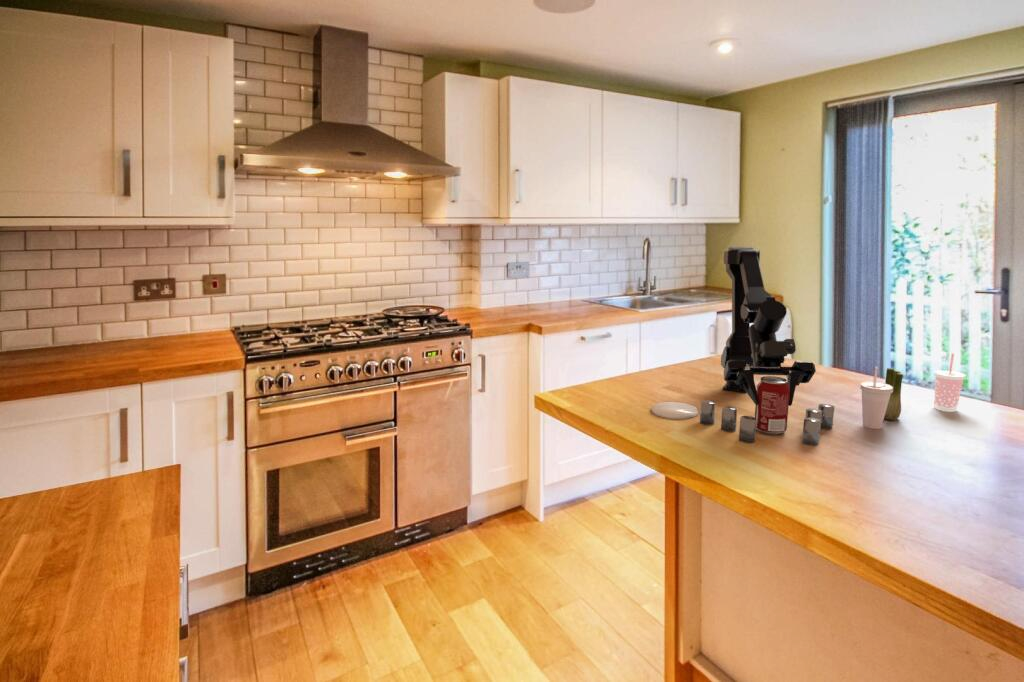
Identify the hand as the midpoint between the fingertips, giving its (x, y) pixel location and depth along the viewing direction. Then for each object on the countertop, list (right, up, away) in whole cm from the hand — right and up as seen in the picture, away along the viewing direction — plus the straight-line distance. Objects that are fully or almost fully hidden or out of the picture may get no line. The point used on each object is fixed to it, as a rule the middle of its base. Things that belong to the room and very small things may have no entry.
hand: (773, 404), depth 134 cm
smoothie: (+24, -6, +5) cm, 26 cm away
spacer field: (0, -6, +2) cm, 7 cm away
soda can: (0, -6, +3) cm, 7 cm away
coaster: (-18, -4, +16) cm, 24 cm away
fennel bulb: (+31, -5, +10) cm, 33 cm away
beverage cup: (+49, -3, +16) cm, 52 cm away
